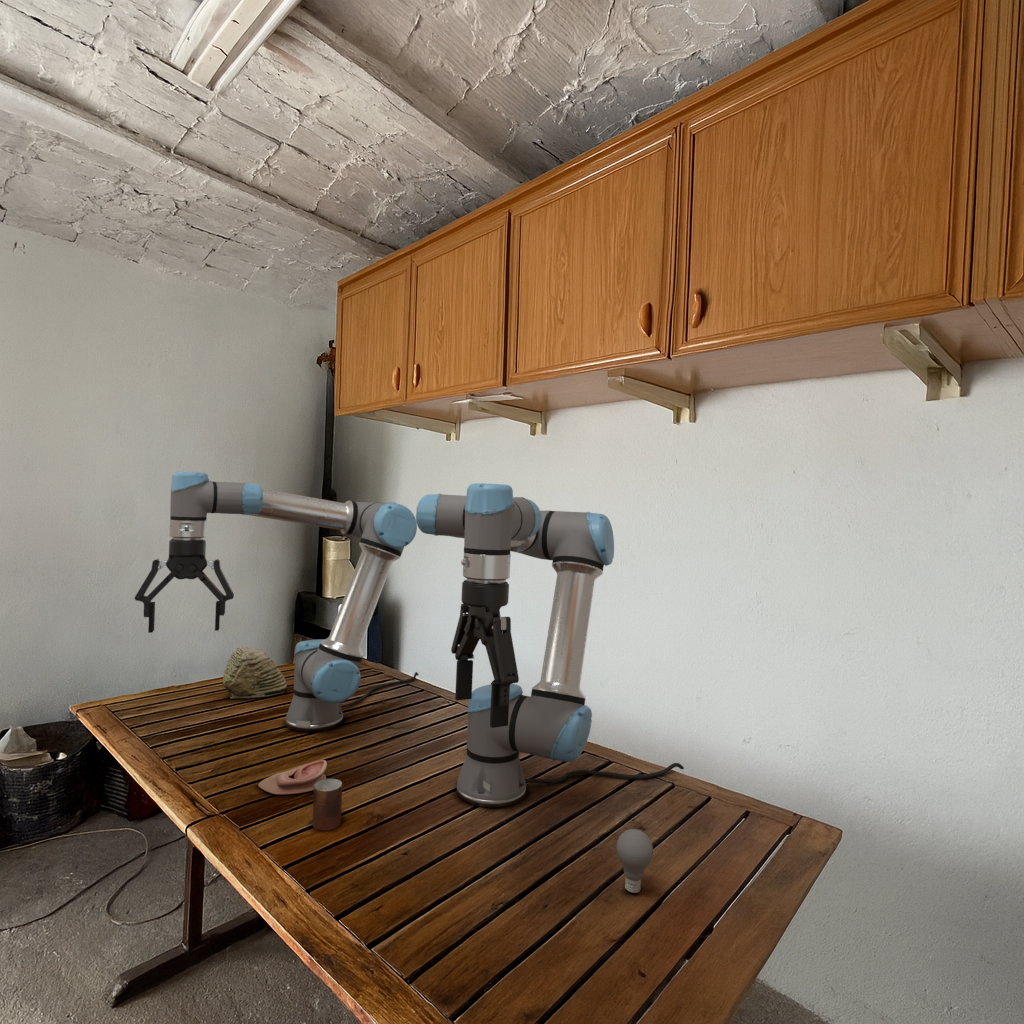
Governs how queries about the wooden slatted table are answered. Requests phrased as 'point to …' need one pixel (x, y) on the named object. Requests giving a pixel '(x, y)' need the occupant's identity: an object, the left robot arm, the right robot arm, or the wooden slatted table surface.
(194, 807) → the wooden slatted table surface
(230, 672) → the fossil
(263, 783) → the anatomical model
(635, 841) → the light bulb
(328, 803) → the tin
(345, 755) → the wooden slatted table surface
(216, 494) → the left robot arm
